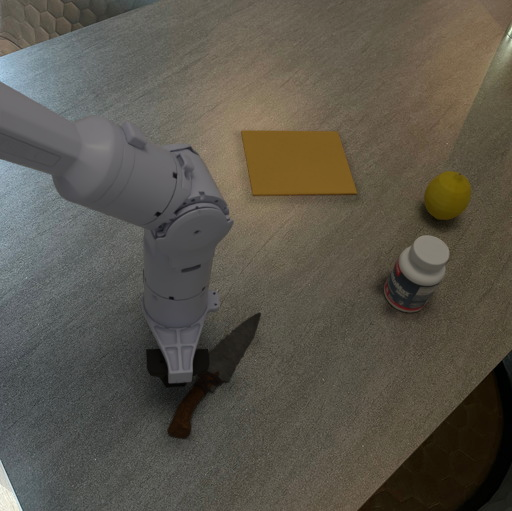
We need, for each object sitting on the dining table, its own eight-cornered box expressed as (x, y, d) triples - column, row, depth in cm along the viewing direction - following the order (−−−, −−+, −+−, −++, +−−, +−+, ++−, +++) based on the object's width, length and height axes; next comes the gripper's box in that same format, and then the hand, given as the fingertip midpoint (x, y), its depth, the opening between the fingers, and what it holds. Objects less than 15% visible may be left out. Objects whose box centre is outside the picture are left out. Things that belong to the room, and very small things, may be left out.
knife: (184, 440, 58) (149, 398, 58) (177, 446, 59) (143, 405, 60) (292, 339, 68) (262, 304, 68) (283, 346, 70) (253, 312, 70)
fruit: (431, 194, 85) (454, 150, 78) (464, 219, 83) (490, 176, 76) (407, 213, 82) (428, 169, 76) (441, 239, 80) (466, 196, 74)
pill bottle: (375, 281, 74) (398, 234, 67) (412, 272, 76) (439, 225, 69) (396, 318, 72) (422, 273, 65) (434, 308, 73) (464, 262, 66)
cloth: (252, 195, 80) (253, 194, 80) (241, 131, 87) (241, 130, 87) (356, 194, 83) (357, 193, 83) (337, 132, 90) (337, 131, 90)
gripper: (233, 344, 50) (218, 413, 61) (215, 208, 59) (205, 289, 69) (143, 349, 49) (144, 419, 59) (138, 209, 57) (140, 292, 68)
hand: (172, 349), depth 64 cm, fingers open, 7 cm apart
